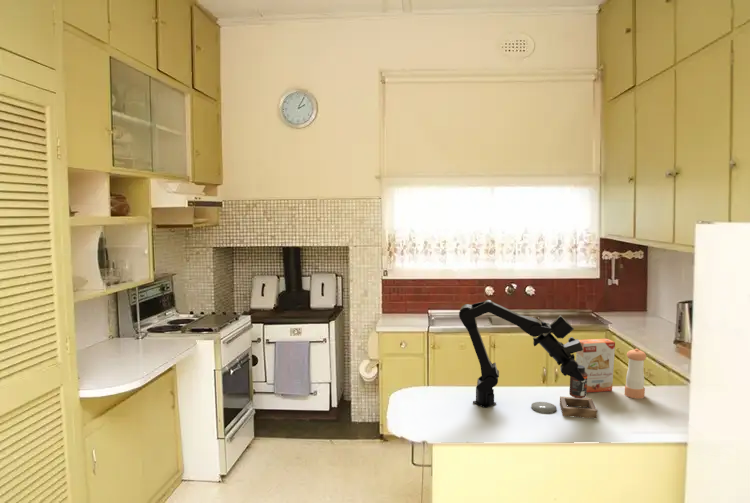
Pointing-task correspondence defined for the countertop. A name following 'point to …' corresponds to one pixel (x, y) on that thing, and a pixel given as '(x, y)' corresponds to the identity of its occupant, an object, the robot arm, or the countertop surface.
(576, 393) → the supplement bottle
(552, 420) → the countertop surface
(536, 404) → the grey round disc
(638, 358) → the pepper shaker
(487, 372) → the robot arm
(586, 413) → the walnut holder
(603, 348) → the cracker box
